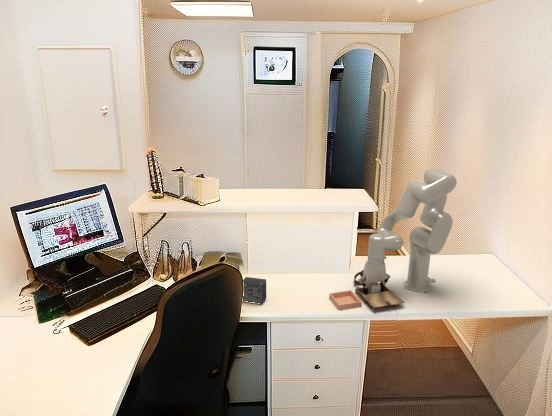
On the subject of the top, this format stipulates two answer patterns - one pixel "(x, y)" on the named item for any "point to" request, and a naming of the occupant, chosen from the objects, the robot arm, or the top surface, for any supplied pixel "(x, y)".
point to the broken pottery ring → (358, 281)
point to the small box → (254, 290)
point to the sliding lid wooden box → (379, 298)
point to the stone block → (373, 288)
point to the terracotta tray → (345, 300)
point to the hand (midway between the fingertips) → (373, 292)
